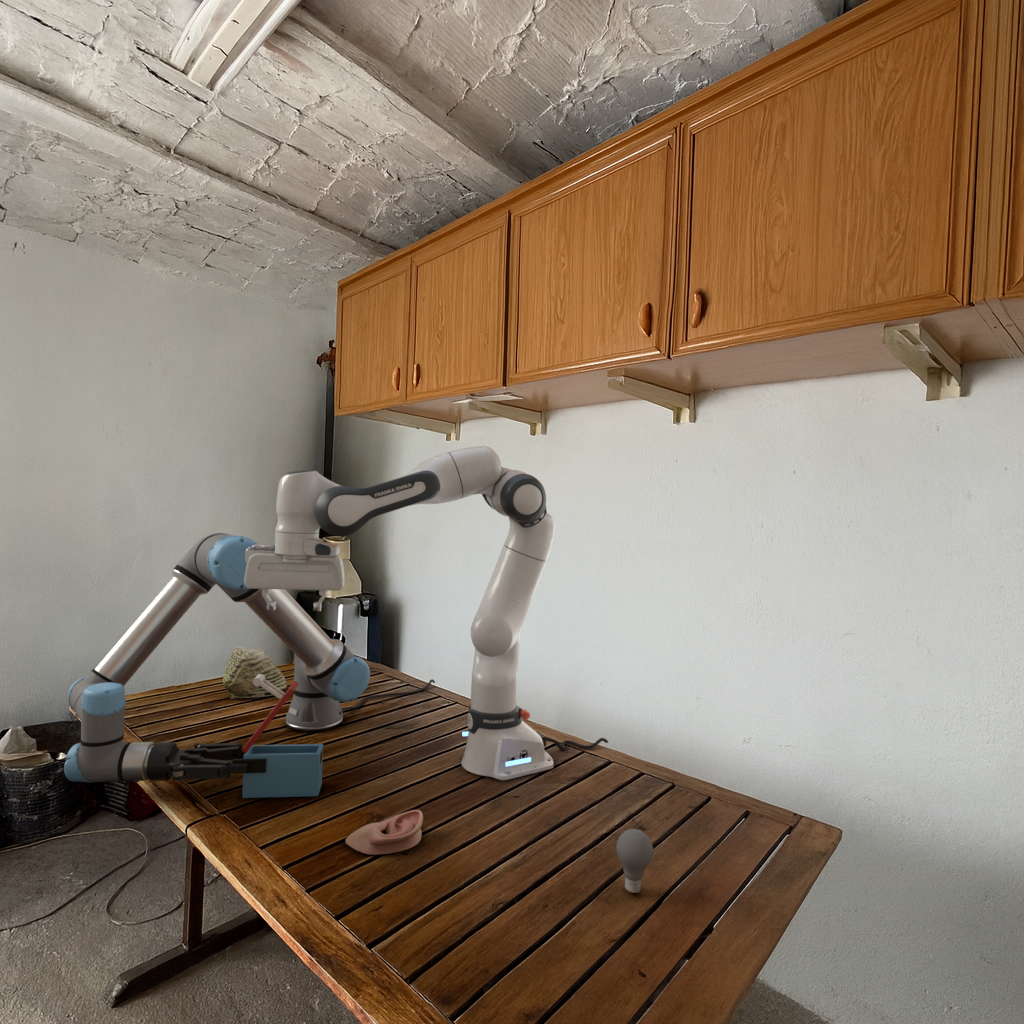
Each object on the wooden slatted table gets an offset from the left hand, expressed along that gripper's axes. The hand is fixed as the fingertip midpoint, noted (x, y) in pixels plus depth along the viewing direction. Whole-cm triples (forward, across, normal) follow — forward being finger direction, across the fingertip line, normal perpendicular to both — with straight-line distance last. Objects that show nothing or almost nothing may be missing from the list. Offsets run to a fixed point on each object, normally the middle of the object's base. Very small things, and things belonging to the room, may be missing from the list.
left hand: (268, 759), depth 135 cm
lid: (+1, 0, +9) cm, 9 cm away
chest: (+3, 0, -7) cm, 8 cm away
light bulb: (+67, +40, -7) cm, 78 cm away
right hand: (+4, 0, +32) cm, 32 cm away
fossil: (-19, -66, -7) cm, 69 cm away
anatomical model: (+26, +21, -7) cm, 34 cm away
